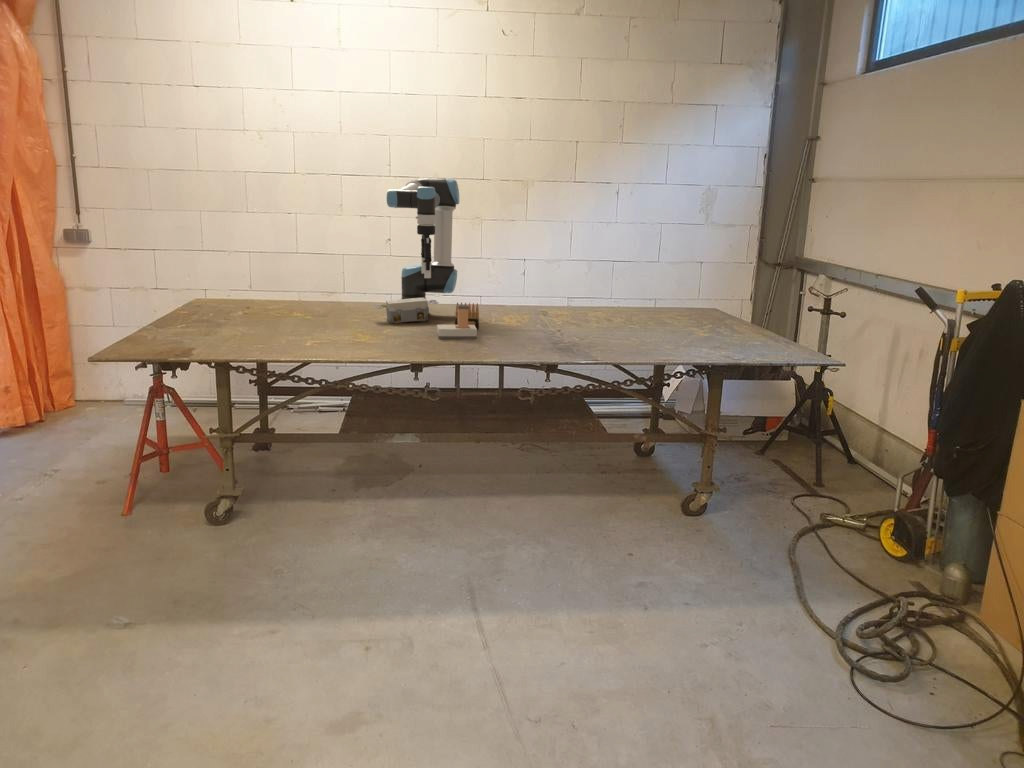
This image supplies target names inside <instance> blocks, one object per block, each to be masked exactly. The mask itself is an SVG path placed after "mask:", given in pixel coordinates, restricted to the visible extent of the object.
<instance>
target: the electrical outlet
mask: <svg viewBox="0 0 1024 768" xmlns="http://www.w3.org/2000/svg"><path fill="white" fill-rule="evenodd" d="M439 303H440V302H439V301H437V300H436V299H430V300H428V299H427V298H426V299H425V298H411V299H401V298H399V299H389V300H385V303H383V304H375V305H374V307H376V309H384V308H386V320H387V322H388V323H390V324H399V323H400V324H401V323H408V322H420V323H423V322H427V321H428V319H429V318H428V315H429V314H428V313H427V306H428V307H429V304H432V305H433V304H437V305H438V304H439Z"/></svg>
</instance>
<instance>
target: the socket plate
mask: <svg viewBox="0 0 1024 768" xmlns="http://www.w3.org/2000/svg"><path fill="white" fill-rule="evenodd" d="M457 326H458V325H455V324H436V334H437V338H438V339H439V340H440V339H441V340H442V339H446V340H447V339H450V340H453V339H458V340H459V339H460V340H461V339H462V340H466V339H469V340H470V339H473V340H474V339H475V340H477V338H478V330H477V329H476V327H475V325H468V328H457Z"/></svg>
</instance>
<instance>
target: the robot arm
mask: <svg viewBox="0 0 1024 768" xmlns="http://www.w3.org/2000/svg"><path fill="white" fill-rule="evenodd" d="M459 190H460V189H459V185H458V181H457V180H456V179H454V178H447V177H445V178H444V177H443V178H442V177H441V178H439V177H437V178H436V177H434V178H433V177H421V178H420V177H419V178H417V179H413V180H411V181H408V182H407V183H406V184H405V186H403V187H402V188H399V189H395V188H394V189H388V190H387V193H386V204H387V206H388V208H394V209H416V210H417V211H416V213H417V214H416V216H415V219H416V220H417V222H416V223H417V225H416V229H417V230H416V234H417V235H419V236H421V238H420V242H421V244H420V246H421V248H420V249H421V250H420V252H421V253H420V256H421V264H415V265H408V266H405V267H403V268H402V269H401V277H400V278H401V298H400V299H411V298H425V299H426V300H427V297H426V295H427V293H430V294H431V293H432V294H433V293H434V294H452V293H454V291H455V290H456V289H455V288H456V285H457V280H458V269H456V268H455V264H453V263H452V253H453V252H452V250H453V249H452V245H453V244H452V243H453V214H454V211H455V210H456V209H457V205H459V204H460V192H459ZM430 236H433V258H432V238H431V237H430ZM432 259H433V261H432ZM427 313H428V315H429V314H430V307H429V305H428V306H427Z"/></svg>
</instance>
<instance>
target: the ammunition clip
mask: <svg viewBox="0 0 1024 768" xmlns="http://www.w3.org/2000/svg"><path fill="white" fill-rule="evenodd" d="M458 305H463V303H462V302H461V303H460V304H459V302H456V305H455V318H454V319H455V320H454V321H455V322H454V325H458ZM464 305H467V303H466V302H465V303H464ZM479 311H480V310H479V303H476V305H475V303H474V302H473V303H472V306H471V303H470V302H469V303H468V325H475V327H476V329H477V331H479V330H480V321H479V320H480V312H479Z"/></svg>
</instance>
